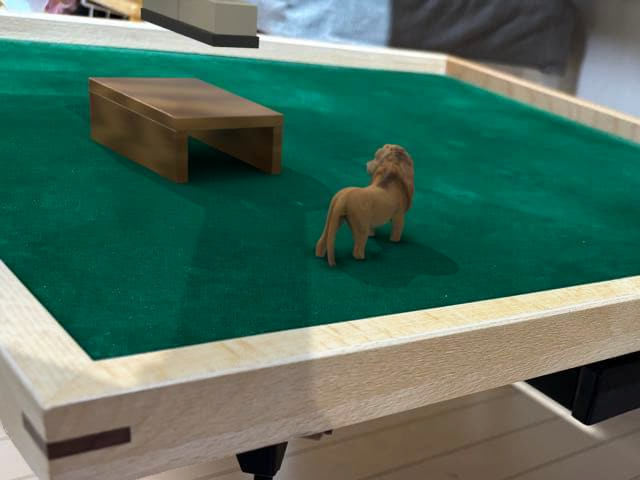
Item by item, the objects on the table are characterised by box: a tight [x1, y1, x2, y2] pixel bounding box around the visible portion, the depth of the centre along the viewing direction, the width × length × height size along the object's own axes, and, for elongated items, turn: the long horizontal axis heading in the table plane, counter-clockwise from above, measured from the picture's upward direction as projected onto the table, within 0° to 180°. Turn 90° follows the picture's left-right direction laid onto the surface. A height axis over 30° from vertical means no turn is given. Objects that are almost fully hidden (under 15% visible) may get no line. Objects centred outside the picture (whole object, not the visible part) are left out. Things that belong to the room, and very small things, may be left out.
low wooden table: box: [87, 77, 285, 184], centre depth 89 cm, size 15×12×7 cm
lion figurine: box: [315, 143, 415, 267], centre depth 76 cm, size 15×5×9 cm, turn 169°
